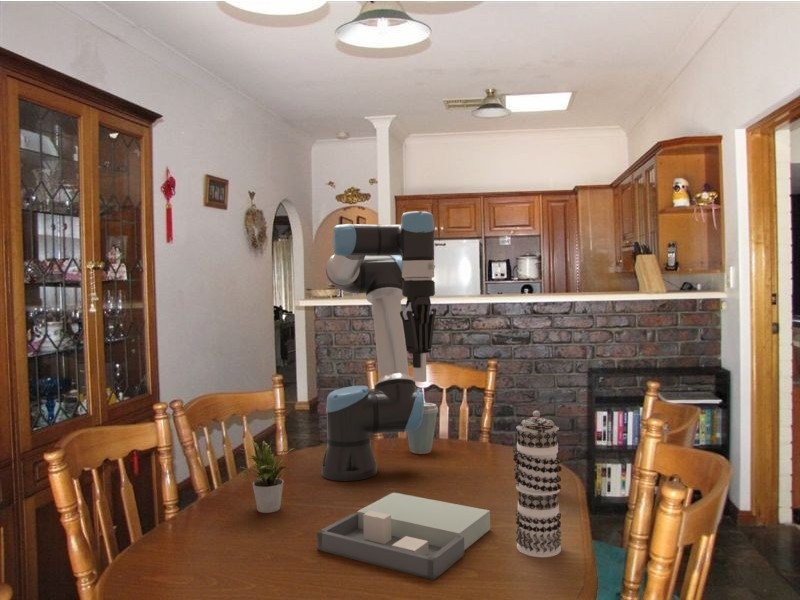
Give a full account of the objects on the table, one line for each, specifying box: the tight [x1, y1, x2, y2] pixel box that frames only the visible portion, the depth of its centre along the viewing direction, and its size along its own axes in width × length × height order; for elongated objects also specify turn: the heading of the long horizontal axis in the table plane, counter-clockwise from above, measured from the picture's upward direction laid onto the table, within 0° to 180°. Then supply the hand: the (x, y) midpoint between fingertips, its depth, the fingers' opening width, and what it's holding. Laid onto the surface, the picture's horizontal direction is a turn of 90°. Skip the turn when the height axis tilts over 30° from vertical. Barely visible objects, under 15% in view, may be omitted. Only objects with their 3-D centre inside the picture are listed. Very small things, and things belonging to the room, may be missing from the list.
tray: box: [316, 512, 465, 581], centre depth 124 cm, size 26×12×4 cm, turn 58°
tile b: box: [392, 536, 429, 556], centre depth 121 cm, size 5×5×2 cm
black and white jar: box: [512, 416, 563, 558], centre depth 125 cm, size 9×9×25 cm
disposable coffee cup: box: [406, 402, 439, 455], centre depth 198 cm, size 11×11×15 cm
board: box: [356, 491, 491, 551], centre depth 135 cm, size 24×14×4 cm, turn 58°
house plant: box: [240, 439, 295, 514], centre depth 150 cm, size 14×14×16 cm
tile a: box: [363, 511, 391, 544], centre depth 129 cm, size 5×5×2 cm
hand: (419, 381), depth 150 cm, fingers closed
